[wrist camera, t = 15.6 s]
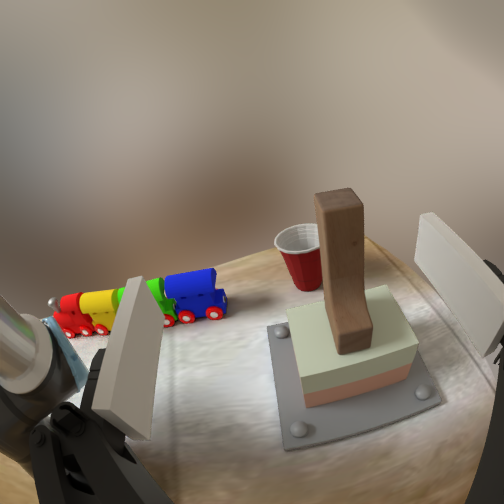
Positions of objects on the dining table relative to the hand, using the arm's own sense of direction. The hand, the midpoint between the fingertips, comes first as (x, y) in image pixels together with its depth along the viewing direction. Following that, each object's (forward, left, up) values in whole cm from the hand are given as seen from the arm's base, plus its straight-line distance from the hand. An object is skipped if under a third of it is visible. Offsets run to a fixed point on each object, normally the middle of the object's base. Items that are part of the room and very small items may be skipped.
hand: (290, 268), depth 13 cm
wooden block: (+7, +15, -24) cm, 29 cm away
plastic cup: (+6, +38, -35) cm, 51 cm away
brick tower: (+8, +15, -34) cm, 38 cm away
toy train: (-34, +35, -35) cm, 60 cm away
